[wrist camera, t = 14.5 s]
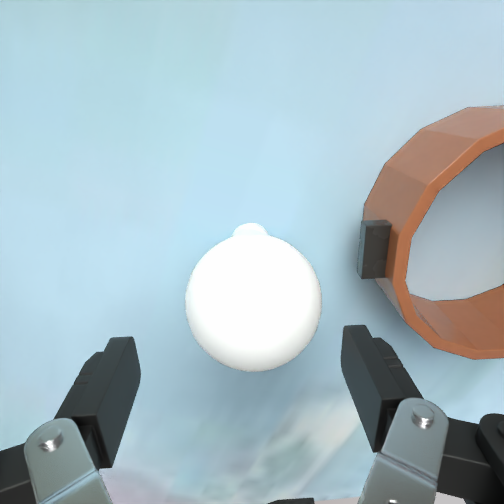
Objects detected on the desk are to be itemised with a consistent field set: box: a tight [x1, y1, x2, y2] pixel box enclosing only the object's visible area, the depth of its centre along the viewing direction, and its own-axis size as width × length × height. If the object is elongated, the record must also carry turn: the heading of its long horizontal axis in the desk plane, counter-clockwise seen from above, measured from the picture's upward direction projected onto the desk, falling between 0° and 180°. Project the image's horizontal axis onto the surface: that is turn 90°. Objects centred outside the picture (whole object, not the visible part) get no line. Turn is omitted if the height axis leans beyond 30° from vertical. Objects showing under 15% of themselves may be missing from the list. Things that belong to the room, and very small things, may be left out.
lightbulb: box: [185, 223, 322, 372], centre depth 18 cm, size 6×6×11 cm
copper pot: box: [357, 105, 504, 360], centre depth 21 cm, size 16×14×6 cm
